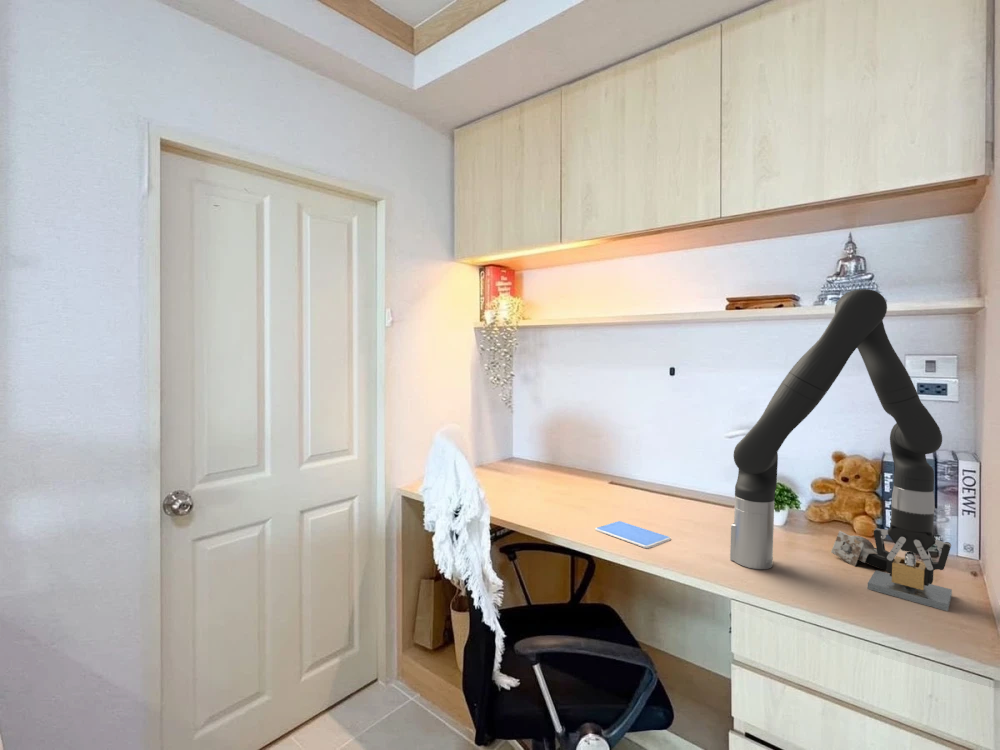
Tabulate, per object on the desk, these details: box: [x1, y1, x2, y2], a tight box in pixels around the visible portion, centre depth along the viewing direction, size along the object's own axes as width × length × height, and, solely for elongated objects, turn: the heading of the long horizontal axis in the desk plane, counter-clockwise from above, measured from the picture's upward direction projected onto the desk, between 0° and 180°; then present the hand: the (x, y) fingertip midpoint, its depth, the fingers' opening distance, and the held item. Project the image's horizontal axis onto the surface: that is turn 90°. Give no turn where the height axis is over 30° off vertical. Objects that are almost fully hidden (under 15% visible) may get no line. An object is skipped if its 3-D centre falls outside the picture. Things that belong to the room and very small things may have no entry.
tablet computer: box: [594, 520, 672, 549], centre depth 150 cm, size 19×13×1 cm, turn 38°
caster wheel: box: [830, 530, 887, 571], centre depth 131 cm, size 7×11×10 cm
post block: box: [867, 551, 953, 612], centre depth 114 cm, size 14×10×10 cm
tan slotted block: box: [892, 555, 926, 590], centre depth 114 cm, size 6×6×4 cm
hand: (909, 579), depth 114 cm, fingers closed on tan slotted block, 5 cm apart
